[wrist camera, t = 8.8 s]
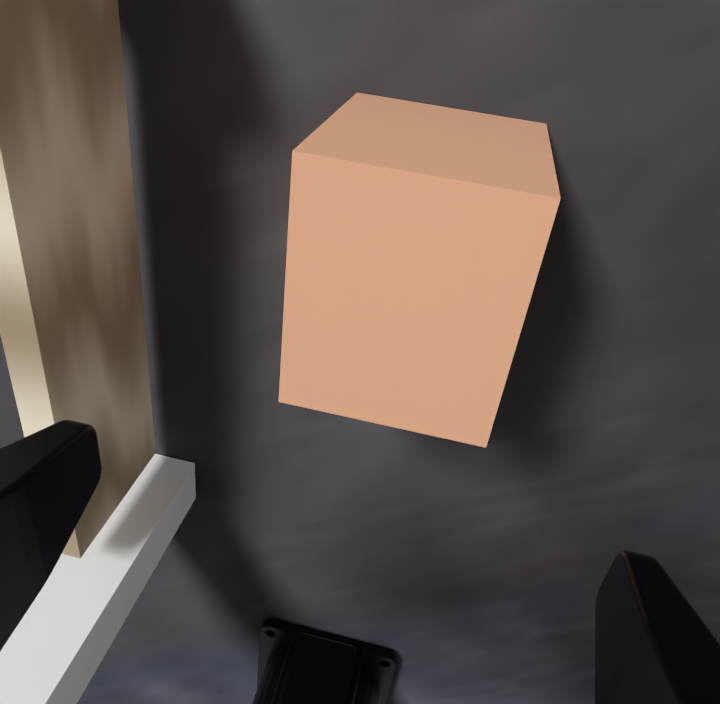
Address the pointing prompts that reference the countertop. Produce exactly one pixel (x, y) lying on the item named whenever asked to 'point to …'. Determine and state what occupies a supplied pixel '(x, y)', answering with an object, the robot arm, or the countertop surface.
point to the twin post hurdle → (95, 591)
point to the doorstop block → (413, 263)
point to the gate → (72, 240)
